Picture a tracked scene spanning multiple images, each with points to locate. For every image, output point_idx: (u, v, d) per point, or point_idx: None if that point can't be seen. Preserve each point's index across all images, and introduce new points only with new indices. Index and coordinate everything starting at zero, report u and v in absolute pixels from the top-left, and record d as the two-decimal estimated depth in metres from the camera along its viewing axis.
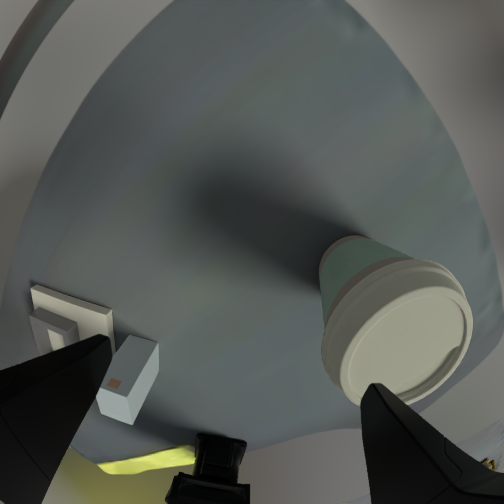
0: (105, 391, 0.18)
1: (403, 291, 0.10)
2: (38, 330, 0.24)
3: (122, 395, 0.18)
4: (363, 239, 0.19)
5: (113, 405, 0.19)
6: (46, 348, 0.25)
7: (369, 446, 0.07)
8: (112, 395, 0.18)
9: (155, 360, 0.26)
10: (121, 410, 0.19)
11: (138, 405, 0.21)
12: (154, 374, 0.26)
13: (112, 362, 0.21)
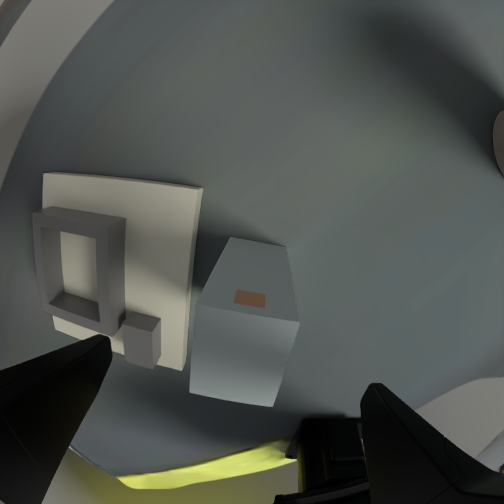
0: (232, 318, 0.08)
1: None
2: (45, 244, 0.14)
3: (286, 319, 0.08)
4: None
5: (242, 359, 0.09)
6: (54, 285, 0.15)
7: (369, 446, 0.07)
8: (254, 326, 0.09)
9: None
10: (260, 370, 0.09)
11: None
12: None
13: (222, 266, 0.12)
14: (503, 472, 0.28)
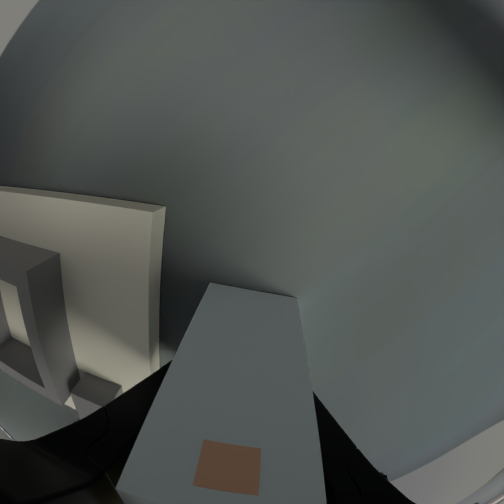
0: None
1: None
2: None
3: None
4: None
5: None
6: None
7: None
8: None
9: None
10: None
11: None
12: None
13: (184, 366, 0.06)
14: None
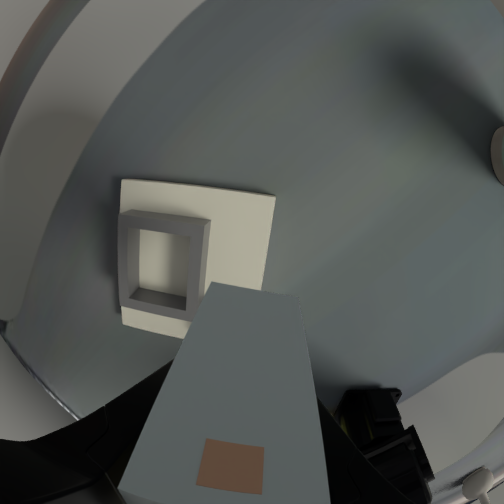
0: None
1: None
2: (129, 243, 0.18)
3: None
4: None
5: None
6: (133, 281, 0.19)
7: None
8: None
9: None
10: None
11: None
12: None
13: (186, 365, 0.06)
14: None
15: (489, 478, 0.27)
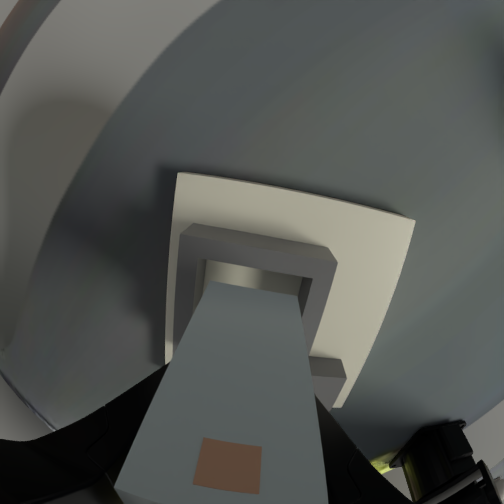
0: None
1: None
2: (197, 283, 0.11)
3: None
4: None
5: None
6: None
7: None
8: None
9: None
10: None
11: None
12: None
13: (184, 364, 0.06)
14: None
15: None
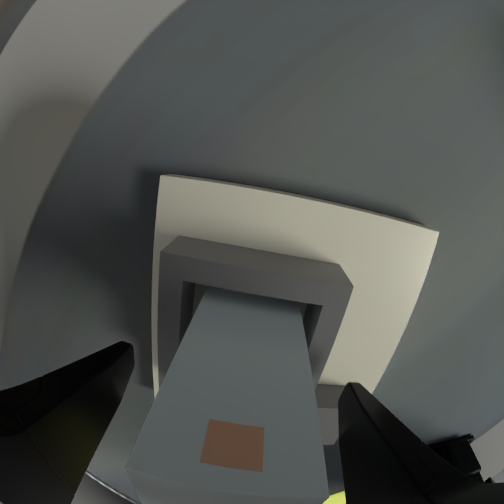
0: (197, 491, 0.03)
1: None
2: (183, 308, 0.09)
3: (302, 495, 0.03)
4: None
5: None
6: None
7: (345, 447, 0.07)
8: (241, 501, 0.03)
9: None
10: None
11: None
12: None
13: (190, 352, 0.06)
14: None
15: None
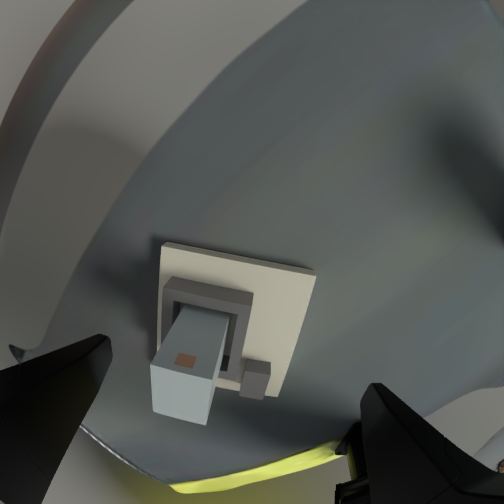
0: (171, 373, 0.13)
1: None
2: (173, 313, 0.19)
3: (203, 377, 0.13)
4: None
5: (181, 395, 0.13)
6: None
7: (369, 446, 0.07)
8: (185, 379, 0.13)
9: (227, 330, 0.20)
10: (193, 403, 0.13)
11: (212, 394, 0.15)
12: (223, 351, 0.20)
13: (174, 331, 0.16)
14: (500, 469, 0.33)
15: None
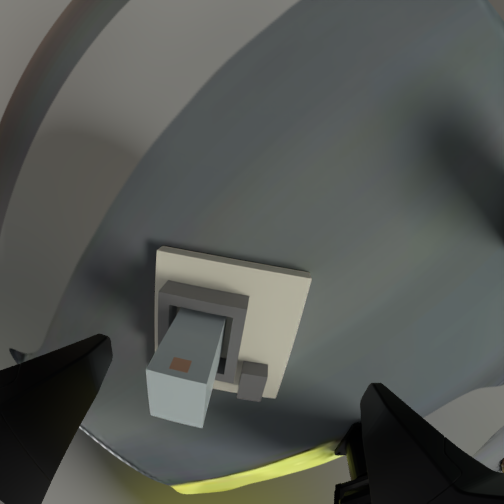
0: (167, 378, 0.13)
1: None
2: (170, 317, 0.19)
3: (198, 381, 0.13)
4: None
5: (177, 399, 0.13)
6: None
7: (369, 446, 0.07)
8: (180, 383, 0.13)
9: (223, 334, 0.20)
10: (189, 407, 0.13)
11: (208, 397, 0.15)
12: (220, 354, 0.20)
13: (170, 335, 0.16)
14: (503, 466, 0.33)
15: None
